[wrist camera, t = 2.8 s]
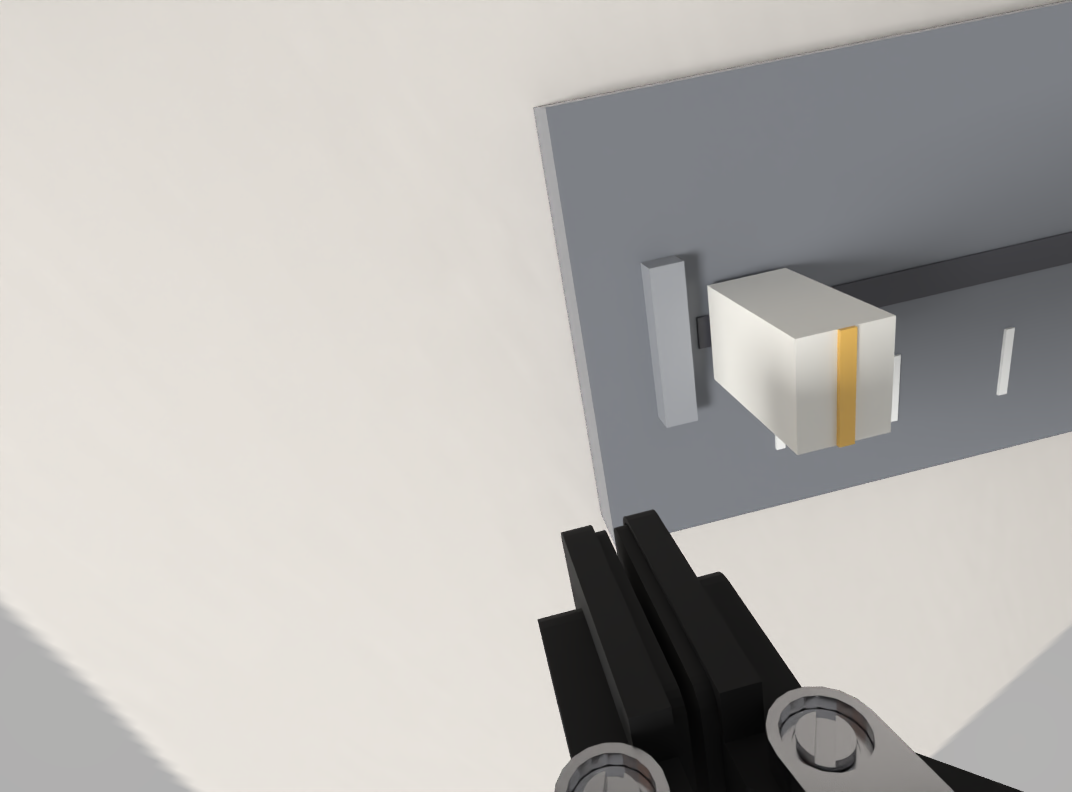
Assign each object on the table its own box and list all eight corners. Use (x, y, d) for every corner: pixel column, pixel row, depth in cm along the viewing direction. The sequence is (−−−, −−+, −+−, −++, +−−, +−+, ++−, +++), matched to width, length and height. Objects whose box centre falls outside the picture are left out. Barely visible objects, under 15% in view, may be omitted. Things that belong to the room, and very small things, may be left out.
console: (533, 107, 19) (550, 107, 16) (1458, -79, 21) (1600, -104, 19) (601, 514, 25) (622, 560, 22) (1322, 335, 27) (1416, 358, 24)
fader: (707, 285, 19) (797, 341, 15) (785, 267, 20) (899, 316, 15) (714, 379, 21) (800, 457, 16) (787, 361, 21) (893, 434, 16)
